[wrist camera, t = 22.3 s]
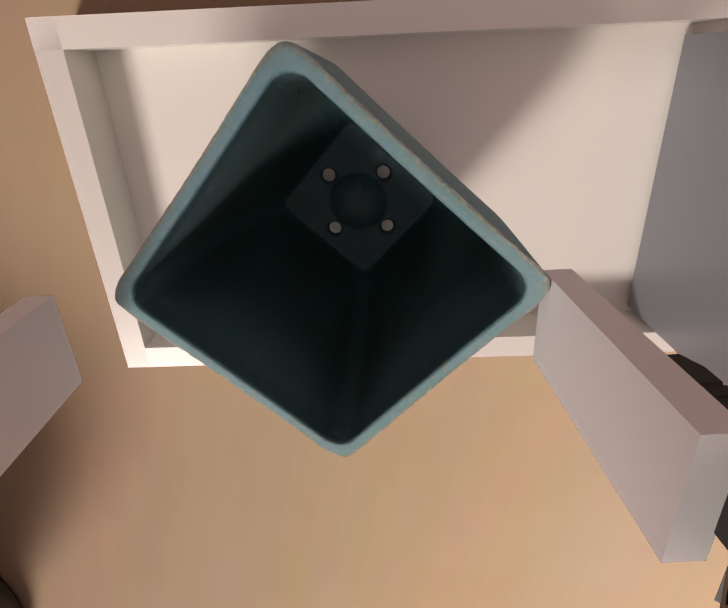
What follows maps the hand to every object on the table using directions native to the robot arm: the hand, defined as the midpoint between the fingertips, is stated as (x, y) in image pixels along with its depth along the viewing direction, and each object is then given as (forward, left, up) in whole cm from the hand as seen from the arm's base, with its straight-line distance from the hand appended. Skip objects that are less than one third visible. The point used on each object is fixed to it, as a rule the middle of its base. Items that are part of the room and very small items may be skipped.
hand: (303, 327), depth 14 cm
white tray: (+7, +1, -10) cm, 12 cm away
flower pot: (+2, +1, -9) cm, 9 cm away
